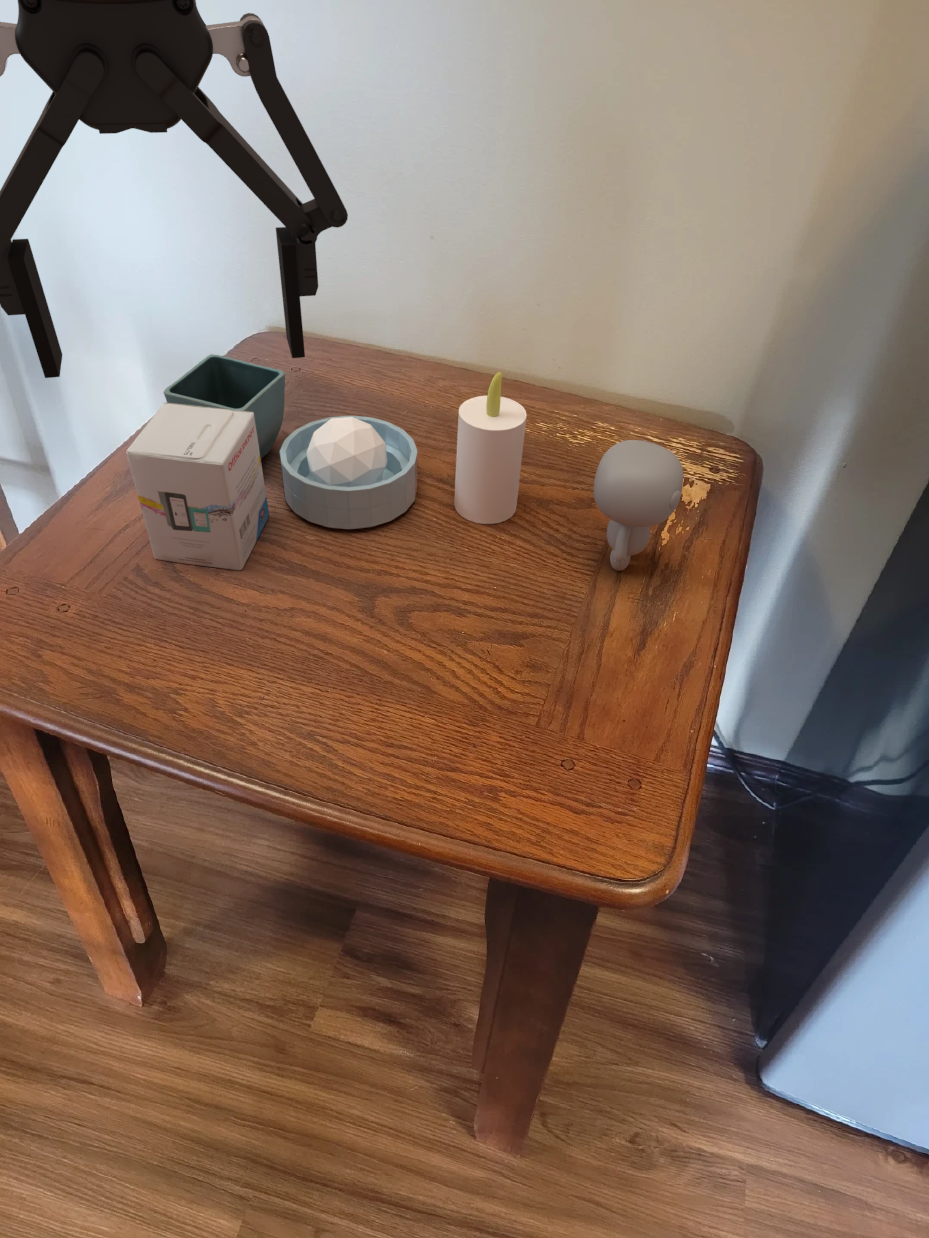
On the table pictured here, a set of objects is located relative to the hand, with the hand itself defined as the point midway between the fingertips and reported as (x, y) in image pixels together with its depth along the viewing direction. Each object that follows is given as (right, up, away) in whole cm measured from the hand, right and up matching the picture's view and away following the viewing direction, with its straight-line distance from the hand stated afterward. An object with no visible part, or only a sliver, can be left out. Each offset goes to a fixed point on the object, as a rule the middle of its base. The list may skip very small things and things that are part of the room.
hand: (178, 357), depth 50 cm
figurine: (+31, -10, +31) cm, 45 cm away
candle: (+19, -4, +36) cm, 41 cm away
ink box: (-7, -8, +30) cm, 32 cm away
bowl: (+5, -3, +36) cm, 37 cm away
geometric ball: (+5, -2, +36) cm, 37 cm away
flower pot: (-7, +1, +40) cm, 41 cm away
